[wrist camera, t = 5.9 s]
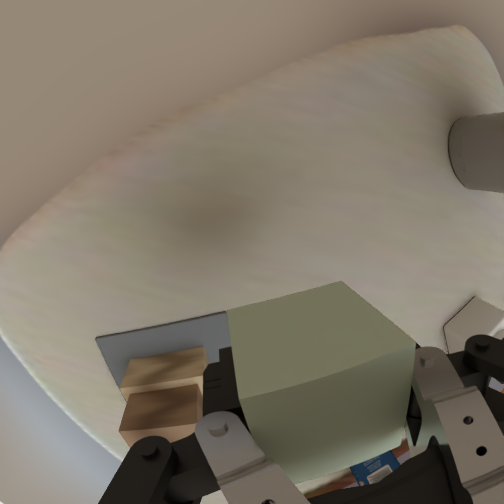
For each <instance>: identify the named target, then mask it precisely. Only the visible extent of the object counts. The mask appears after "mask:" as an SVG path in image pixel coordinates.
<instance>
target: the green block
mask: <svg viewBox="0 0 504 504" xmlns="http://www.w3.org/2000/svg"><path fill="white" fill-rule="evenodd" d="M227 316H228V324H229V332H230V340H231V347H232V354H233V362H234V369H235V376H236V383H237V390H238V396H239V401H240V404H241V407H242V410H243V413H244V416H245V419H246V422H247V425H248V427H249V430H250V433H251V436H252V437H253V439H254V440H255V442H256V443H257V444H258V446H259V447H260V448H261V450H262V451H263V453H264V454H265V455H266V456H267V458H270V457H271V458H272V459H274V460H275V462H276V463H277V464H278V465H279V466H280V468H281V469H282V470H283V471H284V473H285V474H286V475H287V476H288V478H289V479H290V480H291V481H292V482H293V484H297V483H301V482H305V481H308V480H312V479H315V478H318V477H322V476H325V475H328V474H331V473H334V472H337V471H340V470H343V469H345V468H348V467H351V466H353V465H356V464H359V463H361V462H364V461H366V460H369V459H371V458H373V457H376V456H378V455H380V454H383V453H385V452H387V451H389V450H391V449H394V448H396V447H398V446H400V444H401V440H402V436H403V431H404V426H405V421H406V415H407V410H408V404H409V398H410V391H411V384H412V377H413V368H414V359H415V348H416V341H414V340H413V339H412V338H411V337H410V336H408V335H407V334H406V333H405V332H404V331H402V330H401V329H400V328H399V327H398V326H396V325H395V324H394V323H393V322H392V321H390V320H389V319H388V318H387V317H386V316H384V315H383V314H382V313H381V312H379V311H378V310H377V309H376V308H375V307H373V306H372V305H371V304H370V303H368V302H367V301H366V300H365V299H363V298H362V297H361V296H360V295H359V294H357V293H356V292H355V291H354V290H352V289H351V288H350V287H349V286H347V285H346V284H345V283H344V282H342V281H339V282H335V283H332V284H328V285H325V286H321V287H317V288H314V289H310V290H306V291H302V292H298V293H295V294H291V295H287V296H283V297H279V298H275V299H271V300H267V301H263V302H259V303H255V304H251V305H246V306H242V307H238V308H234V309H229V310H227Z"/></svg>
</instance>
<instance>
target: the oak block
mask: <svg viewBox="0 0 504 504" xmlns="http://www.w3.org/2000/svg"><path fill="white" fill-rule="evenodd" d="M208 364H210V363H209V360H208V357H207V354H206V351H205V348H204V346H202V347H197V348H192V349H187V350H182V351H177V352H171V353H166V354H160V355H155V356H149V357H143V358H137V359H130V362H129V364H128V367H127V370H126V372H125V375H124V377H123V380H122V383H121V385H120V390H121V392H122V394H123V396H124V398H125V399H126V401H128V398H129V395H130V394H132V393H140V392H148V391H155V390H162V389H169V388H175V387H181V386H187V385H193V384H198V386H199V388H200V391H201V393H202V396H203V372H204V370H205V369H206V367H207V365H208Z"/></svg>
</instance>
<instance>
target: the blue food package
mask: <svg viewBox="0 0 504 504" xmlns="http://www.w3.org/2000/svg"><path fill="white" fill-rule="evenodd" d="M399 466H400V463H399V462H398V460H397V459H396V457H395V456H394V454H393V453H392V451H391V450H389V451H387V452H385V453H383V454H380V455H378V456H376V457H373V458H371V459H369V460H366V461H364V462H361V463H359V464H356V465H353V466H351V467H350V469H351V471H352V473H353V475H354V477H355V479H356V481H357V483H358V485H359V486H363V485H368V484H373V483H376V482H379V481H380V480H382V479H383V478H384V477H386V476H387V475H389V474H390V473H391V472H393V471H394V470H395V469H396V468H398V467H399Z"/></svg>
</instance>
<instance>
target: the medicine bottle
mask: <svg viewBox="0 0 504 504" xmlns="http://www.w3.org/2000/svg"><path fill="white" fill-rule="evenodd" d="M444 332H445V336H446V341H447V346H448V351H449V354H451V353H455V352H459V351H463V350H464V347H465V342H466V341H467V339H468V338H470V337H471V336H474V335H478V334H485V335H489V336H492V337H495V338H497V339H500V340H503V341H504V311H503V310H501V309H499V308H497V307H495V306H493V305H491V304H489V303H487V302H485V301H483V300H481V299H479V298H477V297H474V298H473V299H472V300H471V301H470V302H469V303H468V304H467V305H466V306H465V307H464V308H463V309H462V310H461V311H460V312H459V313H458V314H457V315H456V316H455V317H453V318H452V319H451V320H450V321H449V322H448V323H447V324H446V325H445V326H444ZM496 380H498V379H496ZM498 381H499V382H500V383H501V384H504V382H502V381H500V380H498Z"/></svg>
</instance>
